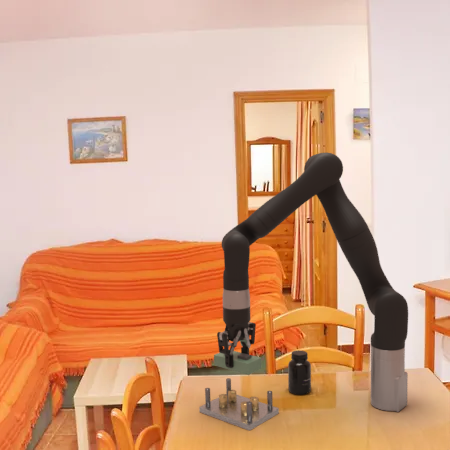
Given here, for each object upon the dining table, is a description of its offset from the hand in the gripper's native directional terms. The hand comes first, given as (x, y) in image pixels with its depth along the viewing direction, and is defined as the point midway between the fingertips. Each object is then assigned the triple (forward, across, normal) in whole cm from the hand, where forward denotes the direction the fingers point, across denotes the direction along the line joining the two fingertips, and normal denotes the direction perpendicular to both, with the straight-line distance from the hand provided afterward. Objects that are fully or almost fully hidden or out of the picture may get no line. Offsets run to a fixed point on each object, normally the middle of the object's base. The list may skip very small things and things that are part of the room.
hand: (237, 363), depth 153 cm
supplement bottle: (+14, +23, -5) cm, 28 cm away
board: (+1, 0, 0) cm, 1 cm away
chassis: (+14, 0, 0) cm, 14 cm away
